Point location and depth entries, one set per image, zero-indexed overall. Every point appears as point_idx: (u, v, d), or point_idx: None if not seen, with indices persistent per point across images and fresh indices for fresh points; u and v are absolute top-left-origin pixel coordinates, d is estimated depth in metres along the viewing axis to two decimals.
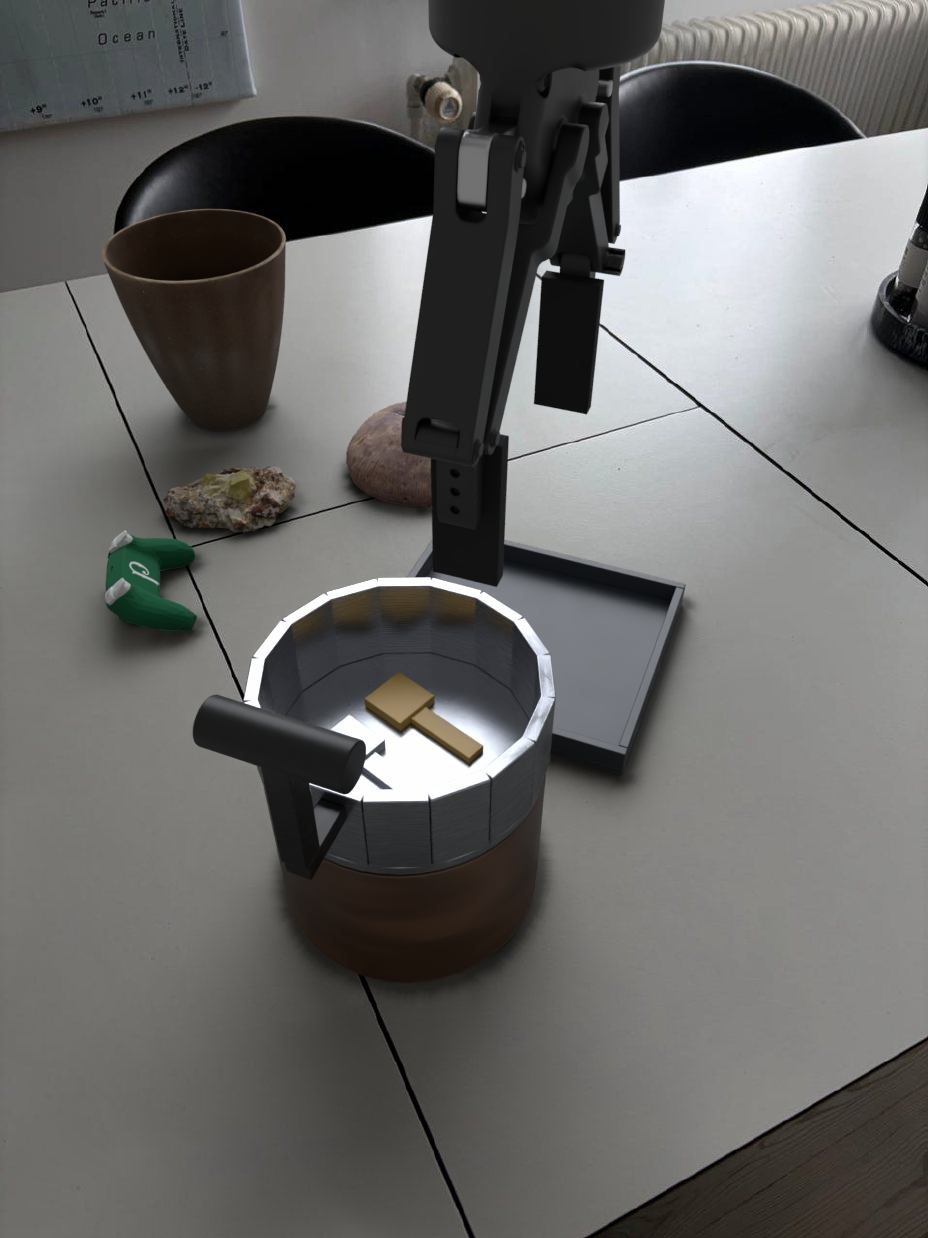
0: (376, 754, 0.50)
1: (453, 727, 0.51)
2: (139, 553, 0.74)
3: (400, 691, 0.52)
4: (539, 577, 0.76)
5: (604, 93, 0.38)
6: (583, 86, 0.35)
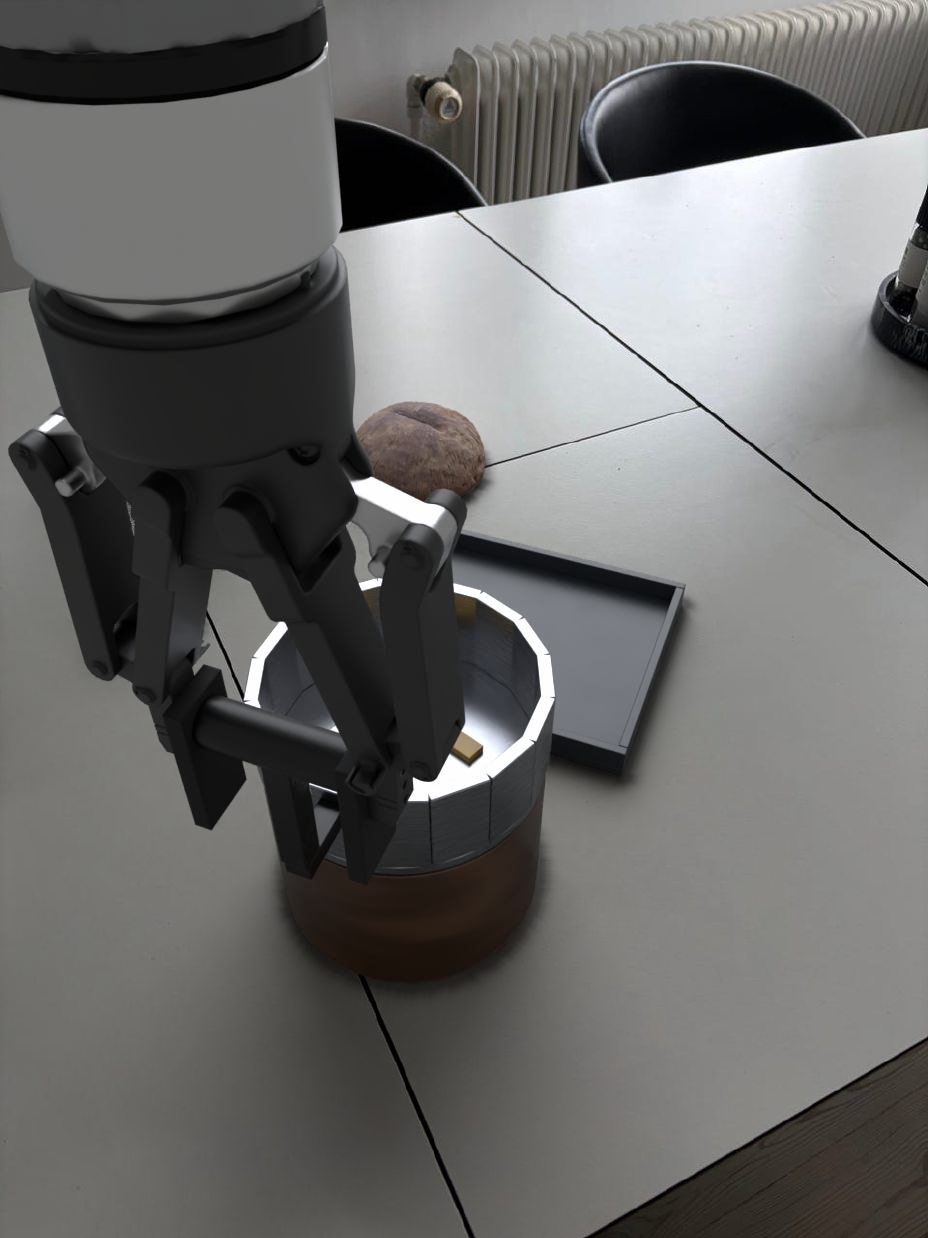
0: None
1: None
2: None
3: None
4: (539, 577, 0.76)
5: None
6: None
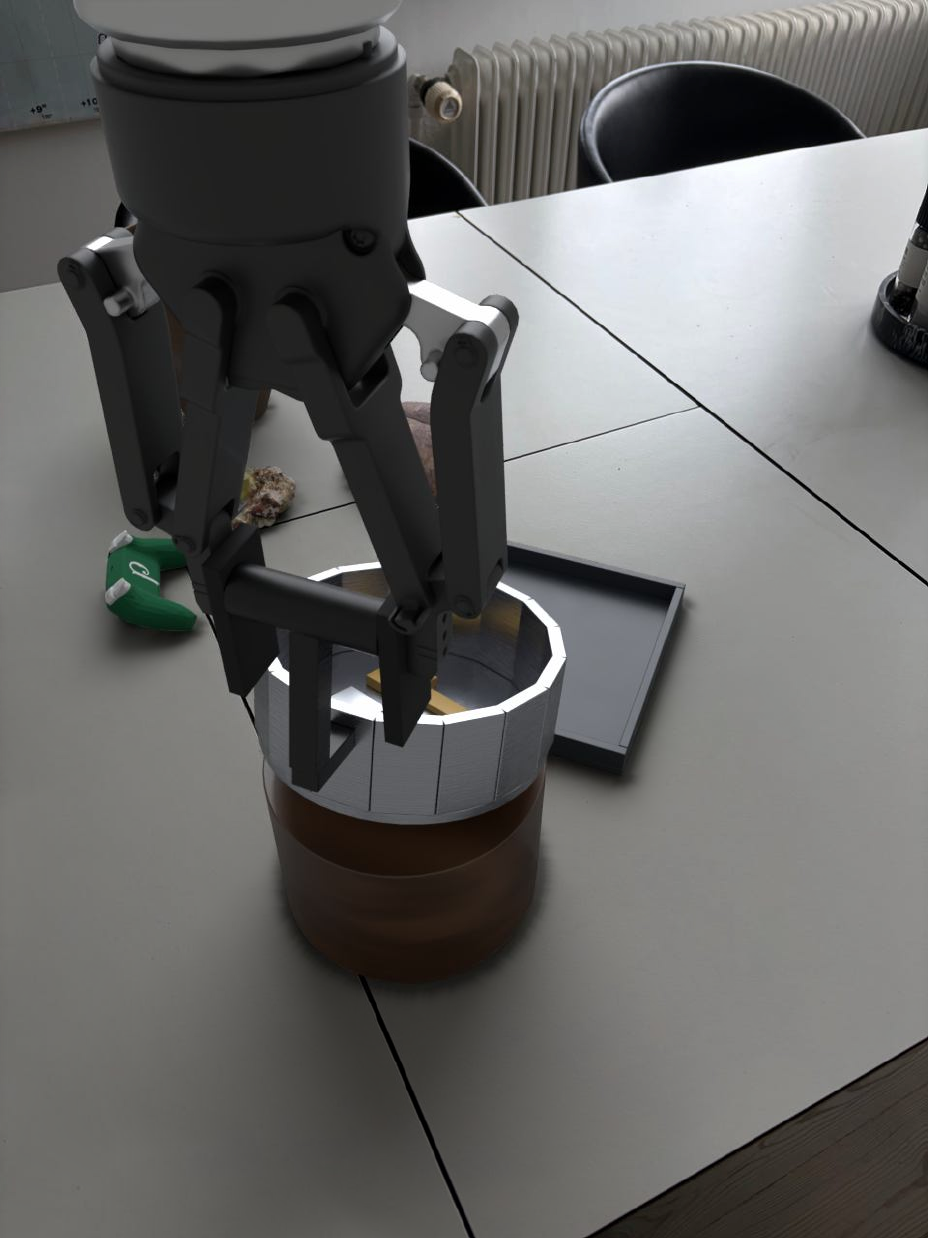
0: None
1: (456, 704, 0.50)
2: (139, 553, 0.74)
3: None
4: (539, 577, 0.76)
5: None
6: None
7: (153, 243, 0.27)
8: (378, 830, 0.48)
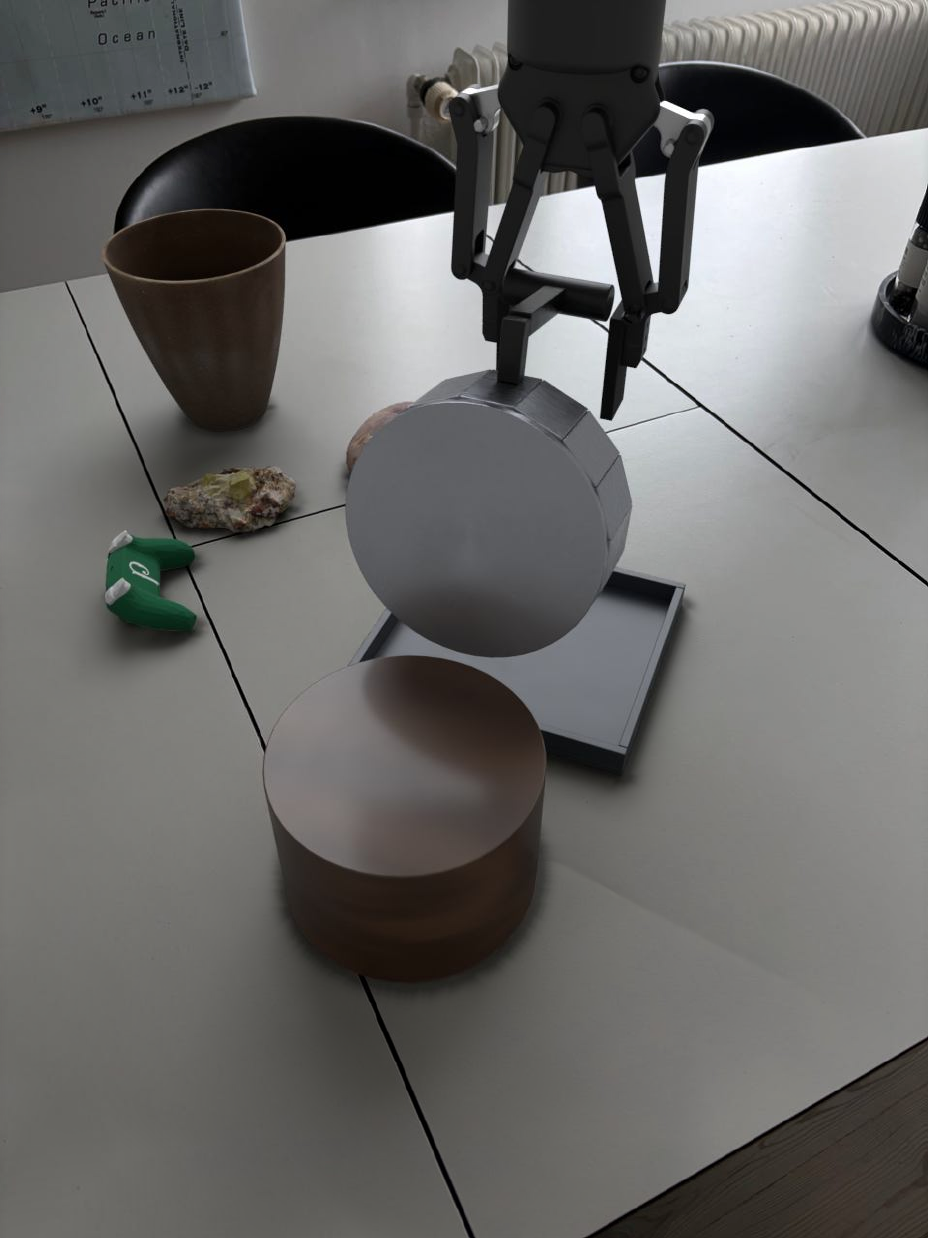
0: None
1: None
2: (139, 553, 0.74)
3: None
4: None
5: None
6: None
7: (514, 84, 0.51)
8: (378, 830, 0.48)
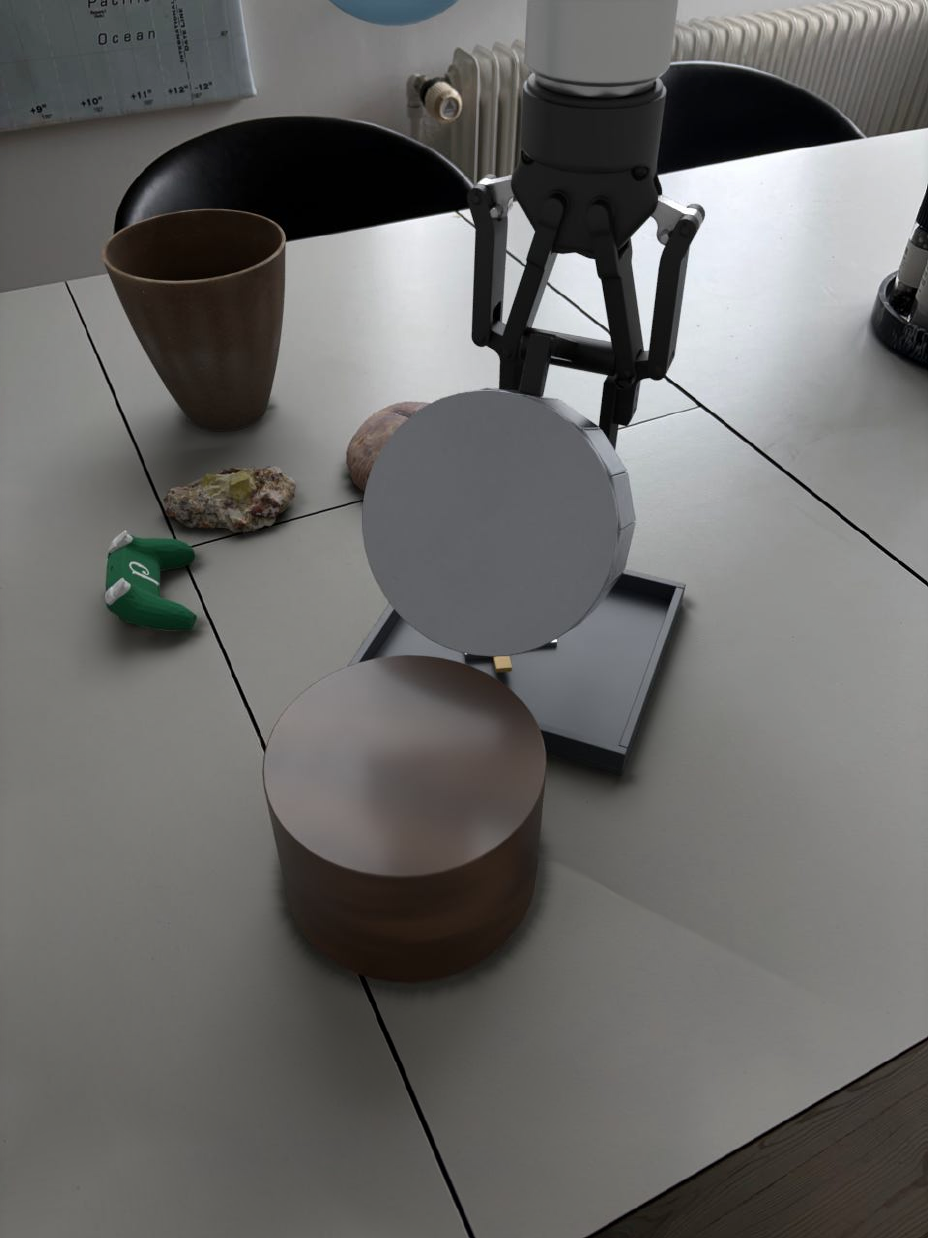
0: None
1: None
2: (139, 553, 0.74)
3: None
4: None
5: None
6: None
7: (526, 176, 0.56)
8: (378, 830, 0.48)
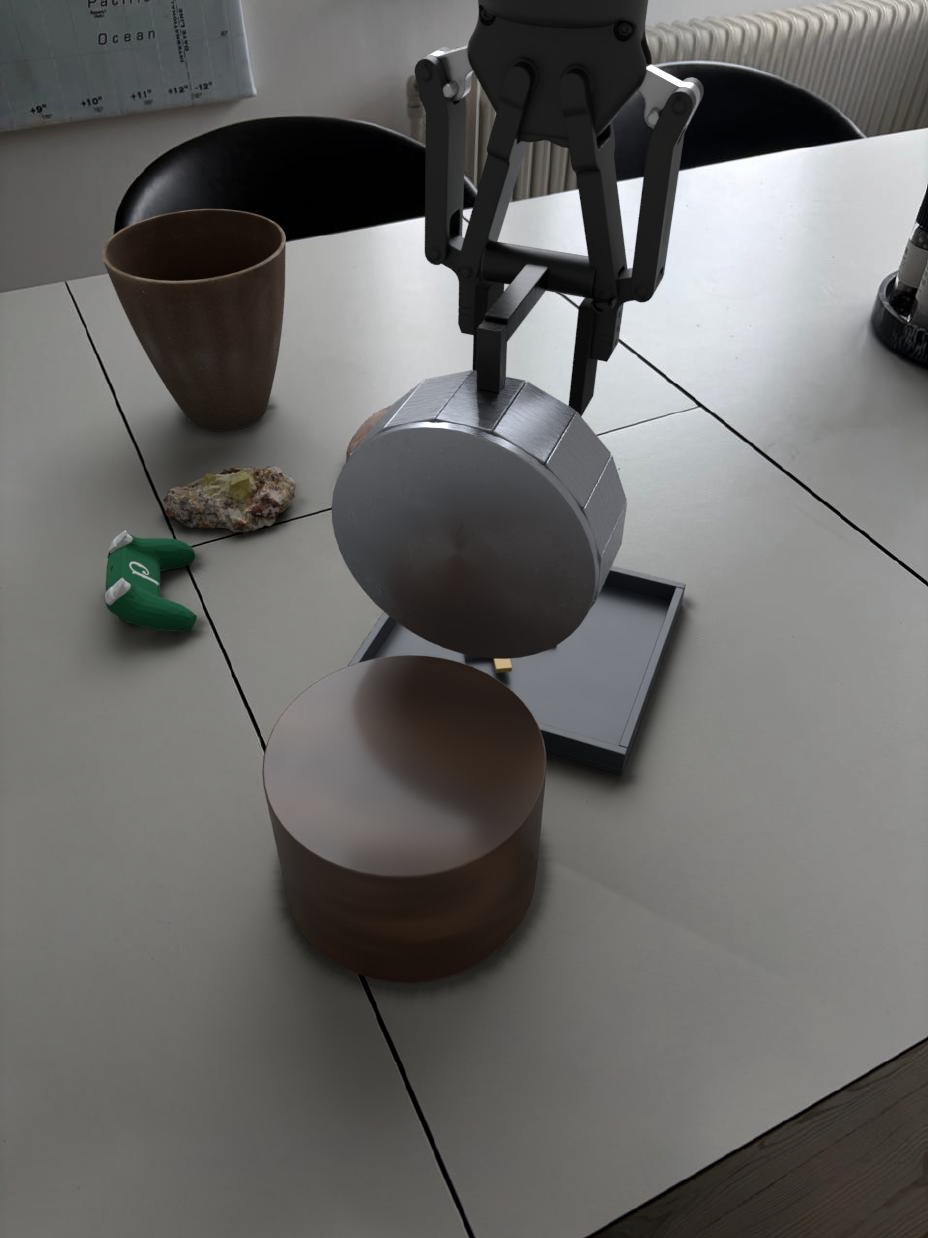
0: None
1: None
2: (139, 553, 0.74)
3: None
4: None
5: None
6: None
7: (486, 41, 0.46)
8: (378, 830, 0.48)
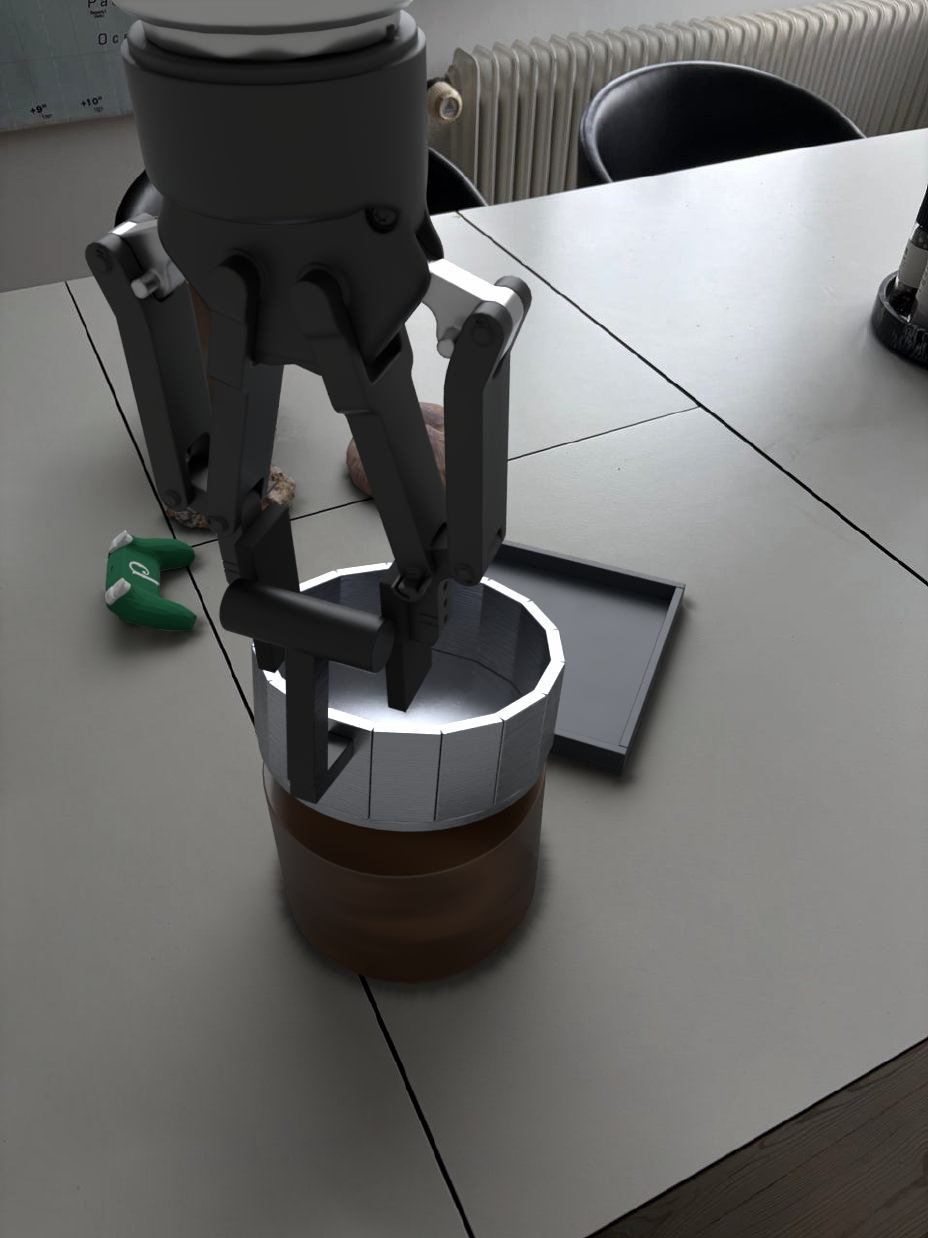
0: None
1: None
2: (139, 553, 0.74)
3: None
4: (539, 577, 0.76)
5: None
6: None
7: (178, 222, 0.28)
8: (378, 830, 0.48)
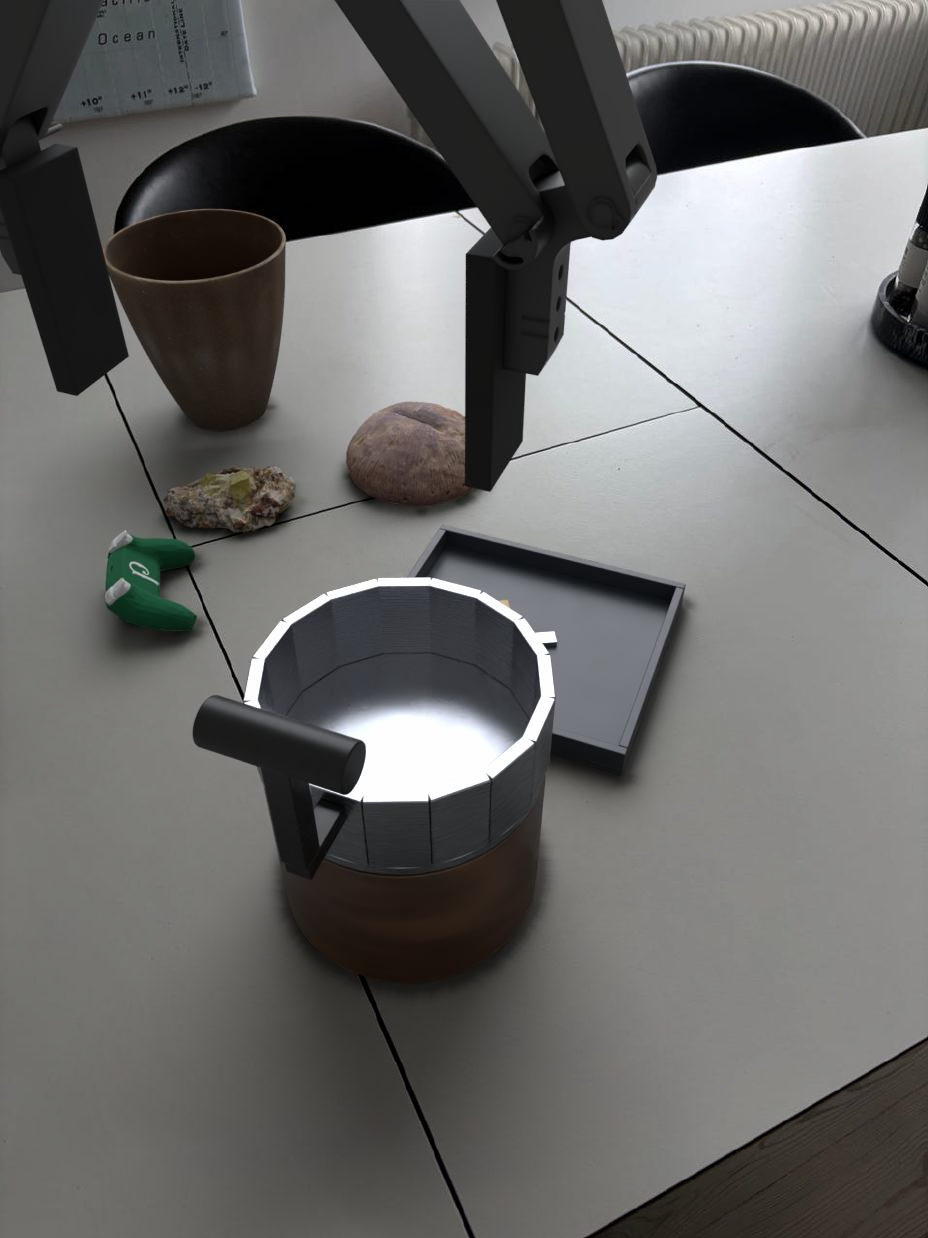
0: None
1: None
2: (139, 553, 0.74)
3: None
4: (539, 577, 0.76)
5: None
6: None
7: None
8: None
